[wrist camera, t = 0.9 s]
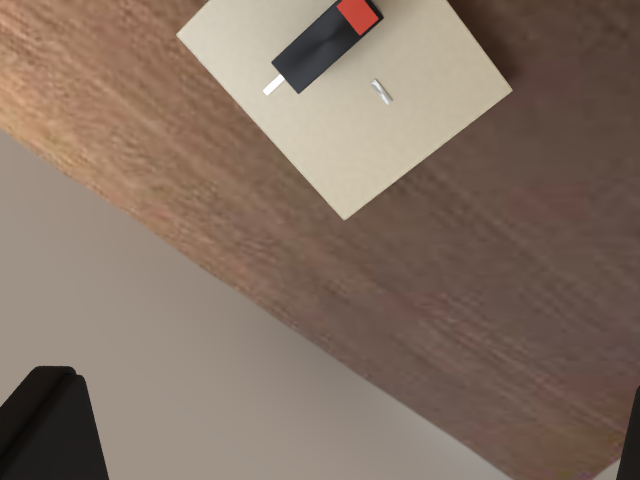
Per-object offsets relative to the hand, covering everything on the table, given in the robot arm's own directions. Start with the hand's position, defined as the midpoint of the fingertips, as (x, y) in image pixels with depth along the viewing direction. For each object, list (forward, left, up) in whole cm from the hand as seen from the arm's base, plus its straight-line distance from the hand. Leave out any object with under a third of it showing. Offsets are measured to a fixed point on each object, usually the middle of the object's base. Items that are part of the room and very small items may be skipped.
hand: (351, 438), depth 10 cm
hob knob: (-5, +2, -22) cm, 23 cm away
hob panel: (-3, +1, -25) cm, 25 cm away
